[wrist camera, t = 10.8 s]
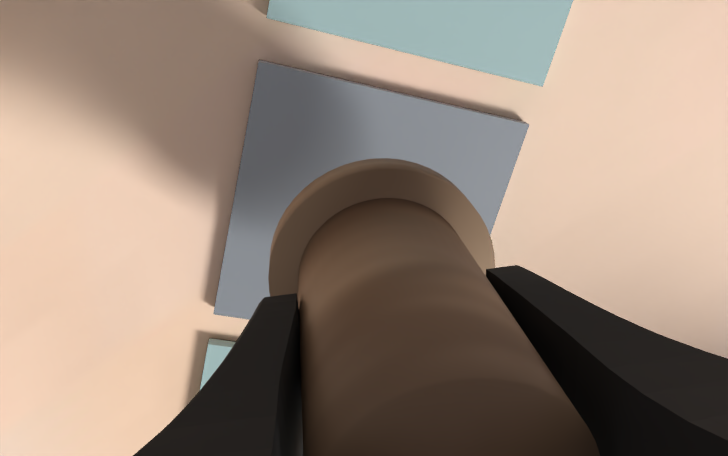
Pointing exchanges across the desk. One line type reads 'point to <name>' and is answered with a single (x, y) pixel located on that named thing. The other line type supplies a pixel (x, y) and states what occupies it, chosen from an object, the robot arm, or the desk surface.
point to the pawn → (410, 324)
